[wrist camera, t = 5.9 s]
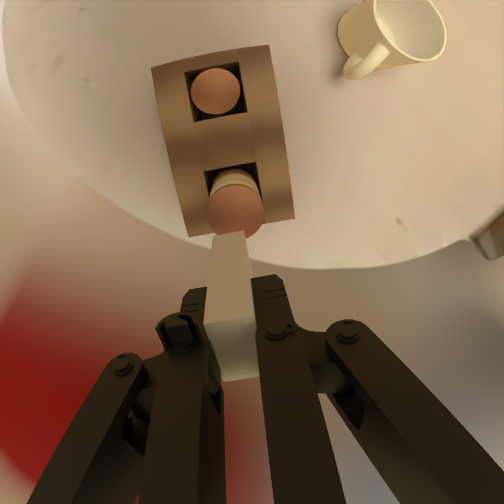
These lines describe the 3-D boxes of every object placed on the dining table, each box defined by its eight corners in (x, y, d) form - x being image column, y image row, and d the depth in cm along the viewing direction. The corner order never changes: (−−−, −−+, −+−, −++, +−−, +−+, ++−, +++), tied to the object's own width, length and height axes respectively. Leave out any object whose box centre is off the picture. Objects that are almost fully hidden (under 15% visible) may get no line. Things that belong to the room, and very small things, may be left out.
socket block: (169, 77, 28) (150, 67, 20) (260, 60, 27) (268, 44, 20) (197, 210, 35) (188, 237, 28) (281, 194, 35) (294, 218, 27)
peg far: (197, 82, 27) (187, 73, 21) (234, 75, 27) (235, 64, 20) (203, 117, 29) (195, 118, 22) (241, 110, 29) (243, 109, 22)
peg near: (208, 170, 26) (200, 192, 20) (252, 162, 26) (259, 181, 20) (217, 211, 28) (212, 244, 22) (258, 203, 28) (268, 235, 21)
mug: (358, 104, 30) (403, 105, 21) (303, 59, 27) (332, 39, 18) (407, 42, 26) (457, 31, 17) (358, -2, 24) (398, -30, 14)
